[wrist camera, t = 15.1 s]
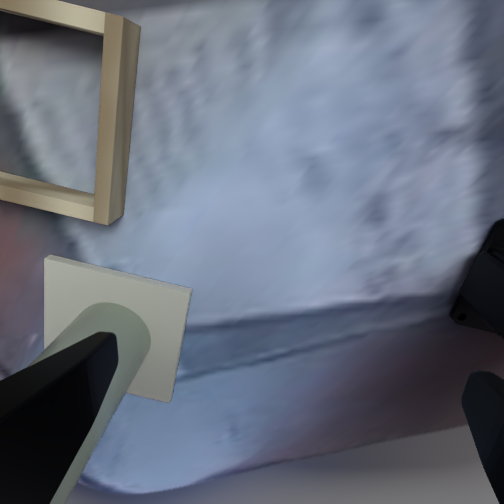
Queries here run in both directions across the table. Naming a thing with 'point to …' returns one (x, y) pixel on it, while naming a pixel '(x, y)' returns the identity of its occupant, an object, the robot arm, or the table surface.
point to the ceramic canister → (130, 360)
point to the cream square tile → (131, 296)
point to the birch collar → (110, 115)
